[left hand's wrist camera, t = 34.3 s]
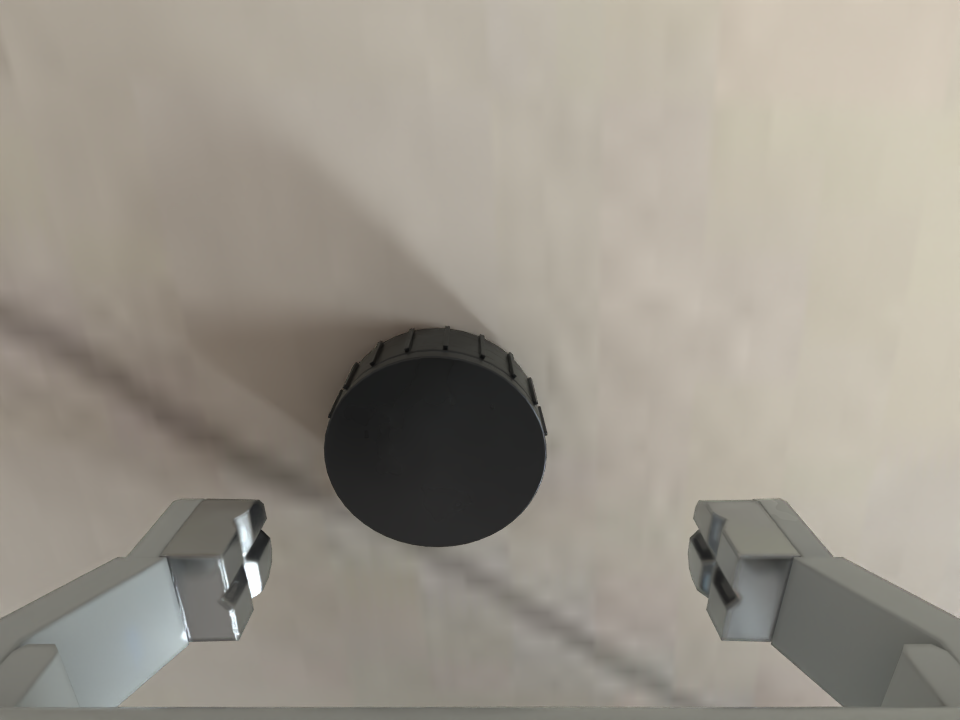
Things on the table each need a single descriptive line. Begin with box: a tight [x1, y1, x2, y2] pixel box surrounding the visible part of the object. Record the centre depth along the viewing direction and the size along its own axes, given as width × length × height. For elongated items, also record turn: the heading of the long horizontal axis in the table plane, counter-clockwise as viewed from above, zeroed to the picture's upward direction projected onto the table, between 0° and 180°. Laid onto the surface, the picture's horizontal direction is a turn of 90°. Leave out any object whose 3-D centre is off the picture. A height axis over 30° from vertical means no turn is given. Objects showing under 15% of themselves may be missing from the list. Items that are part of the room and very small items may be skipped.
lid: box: [324, 326, 547, 547], centre depth 14 cm, size 5×5×2 cm
